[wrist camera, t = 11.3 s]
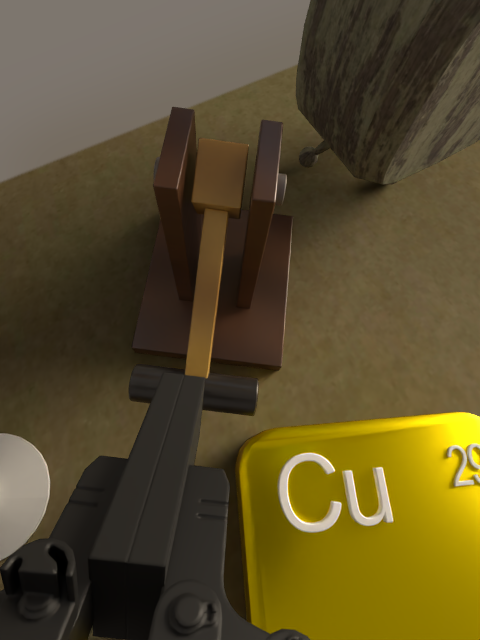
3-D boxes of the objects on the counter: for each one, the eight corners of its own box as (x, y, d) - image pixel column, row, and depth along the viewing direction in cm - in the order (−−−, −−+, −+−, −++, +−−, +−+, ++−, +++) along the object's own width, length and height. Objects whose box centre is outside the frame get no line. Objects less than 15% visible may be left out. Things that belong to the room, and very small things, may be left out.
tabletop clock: (403, 103, 36) (767, -579, 12) (466, 171, 33) (1076, -519, 10) (276, 158, 32) (441, -634, 9) (336, 237, 30) (784, -563, 6)
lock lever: (252, 407, 19) (255, 423, 17) (138, 393, 19) (124, 407, 17) (284, 168, 19) (292, 149, 16) (165, 152, 18) (155, 130, 16)
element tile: (255, 741, 19) (268, 829, 14) (232, 435, 24) (236, 430, 20) (527, 696, 20) (616, 764, 16) (450, 415, 25) (501, 406, 21)
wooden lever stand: (278, 370, 26) (334, 295, 14) (134, 352, 26) (63, 259, 14) (290, 225, 30) (340, 70, 18) (166, 208, 30) (134, 40, 18)
